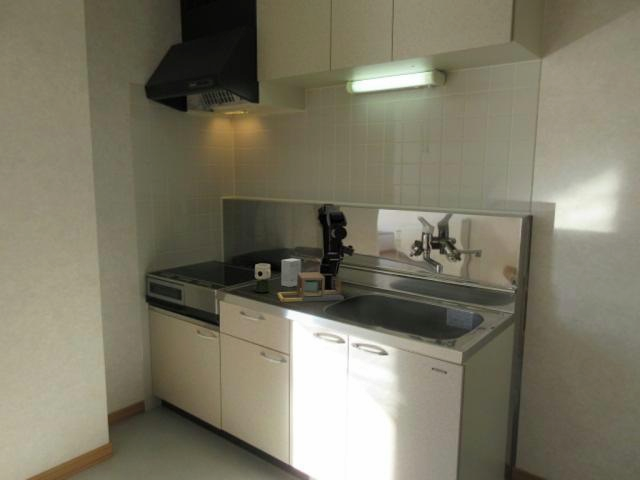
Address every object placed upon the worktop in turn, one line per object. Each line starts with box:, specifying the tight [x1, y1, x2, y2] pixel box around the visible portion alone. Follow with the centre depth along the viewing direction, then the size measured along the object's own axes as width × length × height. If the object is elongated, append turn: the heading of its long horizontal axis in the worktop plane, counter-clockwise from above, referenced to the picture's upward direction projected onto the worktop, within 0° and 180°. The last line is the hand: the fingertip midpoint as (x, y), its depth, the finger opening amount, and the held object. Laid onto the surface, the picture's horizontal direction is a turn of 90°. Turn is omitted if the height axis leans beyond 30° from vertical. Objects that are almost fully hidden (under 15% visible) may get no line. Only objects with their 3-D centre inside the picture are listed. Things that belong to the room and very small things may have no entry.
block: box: [305, 280, 317, 291], centre depth 209 cm, size 5×5×5 cm
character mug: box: [254, 263, 272, 294], centre depth 217 cm, size 11×7×13 cm, turn 47°
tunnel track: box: [277, 271, 345, 303], centre depth 209 cm, size 12×28×10 cm, turn 104°
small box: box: [280, 258, 302, 288], centre depth 233 cm, size 8×6×13 cm
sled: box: [300, 278, 342, 296], centre depth 210 cm, size 8×18×6 cm, turn 104°
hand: (335, 274), depth 208 cm, fingers open, 9 cm apart
